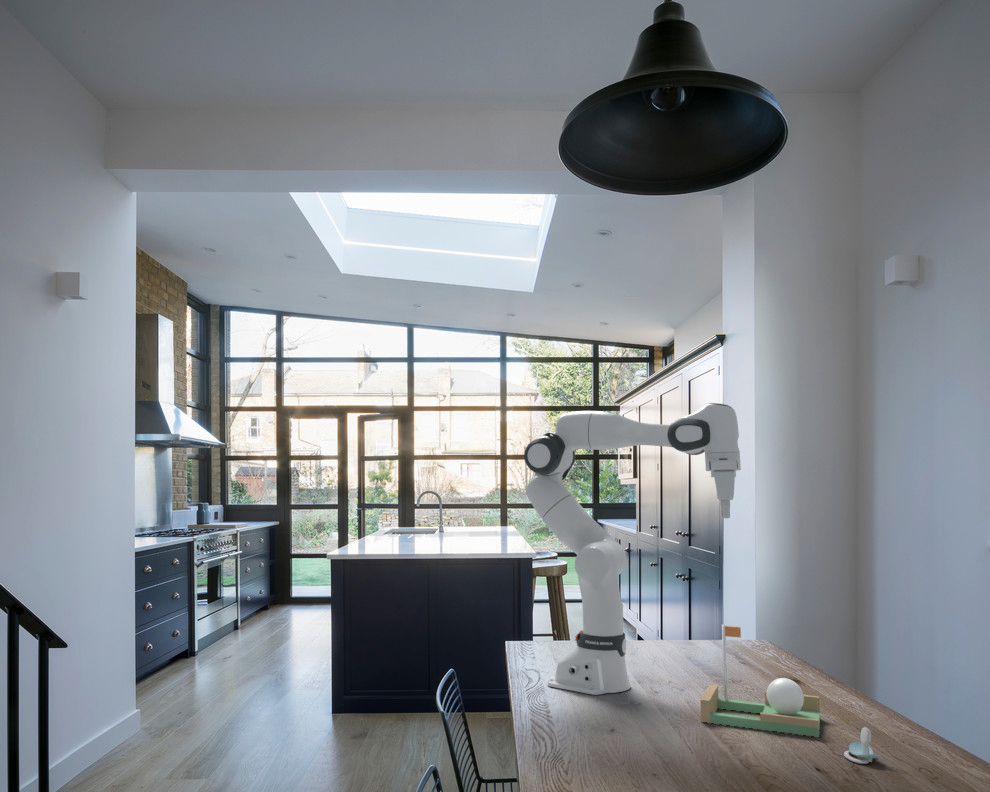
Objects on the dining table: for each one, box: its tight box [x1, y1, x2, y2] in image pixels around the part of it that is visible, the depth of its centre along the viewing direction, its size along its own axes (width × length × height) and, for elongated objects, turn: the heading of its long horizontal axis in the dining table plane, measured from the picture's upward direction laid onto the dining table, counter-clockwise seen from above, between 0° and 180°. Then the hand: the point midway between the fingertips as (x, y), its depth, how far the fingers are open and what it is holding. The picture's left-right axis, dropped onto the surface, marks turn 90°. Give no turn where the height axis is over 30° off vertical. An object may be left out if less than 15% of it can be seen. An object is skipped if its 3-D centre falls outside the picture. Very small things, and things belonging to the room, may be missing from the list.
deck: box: [700, 624, 821, 738], centre depth 172 cm, size 25×14×20 cm, turn 65°
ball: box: [766, 677, 805, 715], centre depth 169 cm, size 8×8×8 cm
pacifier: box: [843, 726, 882, 765], centre depth 147 cm, size 7×6×6 cm
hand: (725, 517), depth 192 cm, fingers open, 8 cm apart
